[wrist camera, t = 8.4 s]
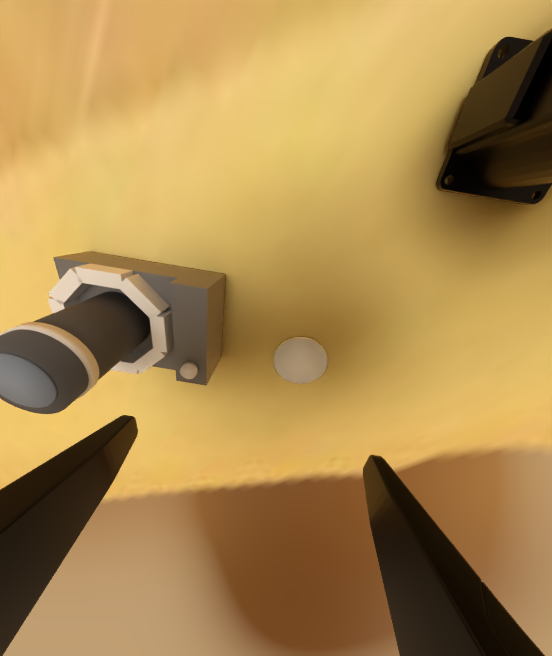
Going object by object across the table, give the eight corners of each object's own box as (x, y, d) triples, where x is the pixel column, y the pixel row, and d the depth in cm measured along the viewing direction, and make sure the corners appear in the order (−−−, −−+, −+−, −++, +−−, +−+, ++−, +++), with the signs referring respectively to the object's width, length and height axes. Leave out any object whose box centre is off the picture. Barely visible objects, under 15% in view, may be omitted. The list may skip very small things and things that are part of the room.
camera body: (225, 274, 18) (203, 291, 13) (221, 356, 21) (203, 390, 17) (89, 251, 18) (24, 261, 13) (108, 337, 21) (62, 367, 17)
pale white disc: (332, 340, 20) (334, 344, 19) (318, 382, 22) (319, 387, 22) (278, 330, 20) (278, 334, 19) (270, 373, 22) (269, 378, 22)
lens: (147, 294, 16) (51, 348, 9) (155, 348, 18) (81, 422, 11) (82, 286, 16) (-58, 333, 9) (98, 341, 18) (-8, 411, 11)
